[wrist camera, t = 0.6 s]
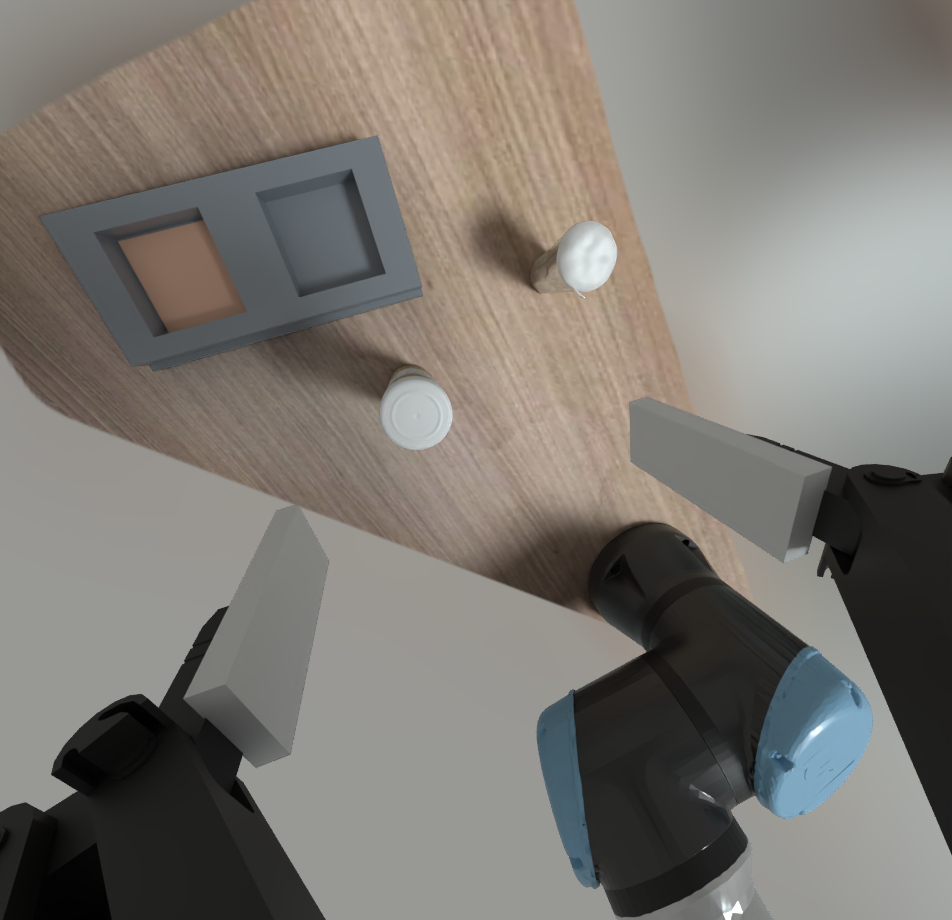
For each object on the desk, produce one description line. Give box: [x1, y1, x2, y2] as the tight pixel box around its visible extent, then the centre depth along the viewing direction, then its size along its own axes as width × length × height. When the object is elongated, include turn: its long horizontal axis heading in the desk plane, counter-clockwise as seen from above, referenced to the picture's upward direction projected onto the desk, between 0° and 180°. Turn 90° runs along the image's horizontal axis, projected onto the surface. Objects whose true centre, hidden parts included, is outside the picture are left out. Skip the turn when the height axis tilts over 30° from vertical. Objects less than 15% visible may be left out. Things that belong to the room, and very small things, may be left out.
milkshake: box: [530, 221, 617, 299], centre depth 29 cm, size 5×5×10 cm
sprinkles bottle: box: [379, 365, 452, 450], centre depth 28 cm, size 5×5×14 cm
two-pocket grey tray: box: [39, 135, 423, 371], centre depth 28 cm, size 11×23×3 cm, turn 105°
